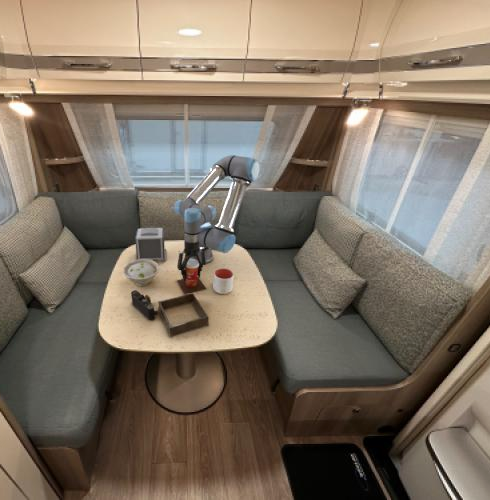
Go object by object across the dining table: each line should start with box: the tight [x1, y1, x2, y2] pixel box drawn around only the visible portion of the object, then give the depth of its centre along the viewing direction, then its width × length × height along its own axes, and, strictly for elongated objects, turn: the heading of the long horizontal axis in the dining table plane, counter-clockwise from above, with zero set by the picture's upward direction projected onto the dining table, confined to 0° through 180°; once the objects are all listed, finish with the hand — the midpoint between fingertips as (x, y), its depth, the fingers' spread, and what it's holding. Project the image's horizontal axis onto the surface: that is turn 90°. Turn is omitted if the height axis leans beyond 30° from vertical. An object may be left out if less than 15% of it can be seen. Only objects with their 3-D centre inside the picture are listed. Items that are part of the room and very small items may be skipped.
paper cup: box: [185, 259, 199, 287], centre depth 140 cm, size 8×8×14 cm
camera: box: [130, 289, 159, 321], centre depth 125 cm, size 16×7×8 cm, turn 42°
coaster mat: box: [177, 276, 207, 295], centre depth 144 cm, size 12×12×1 cm
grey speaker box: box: [134, 227, 167, 262], centre depth 165 cm, size 18×13×18 cm
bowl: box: [122, 259, 160, 287], centre depth 143 cm, size 19×19×10 cm
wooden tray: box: [157, 292, 209, 337], centre depth 121 cm, size 18×18×5 cm
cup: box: [212, 267, 235, 295], centre depth 138 cm, size 10×10×10 cm
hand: (191, 277), depth 141 cm, fingers closed on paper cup, 8 cm apart
